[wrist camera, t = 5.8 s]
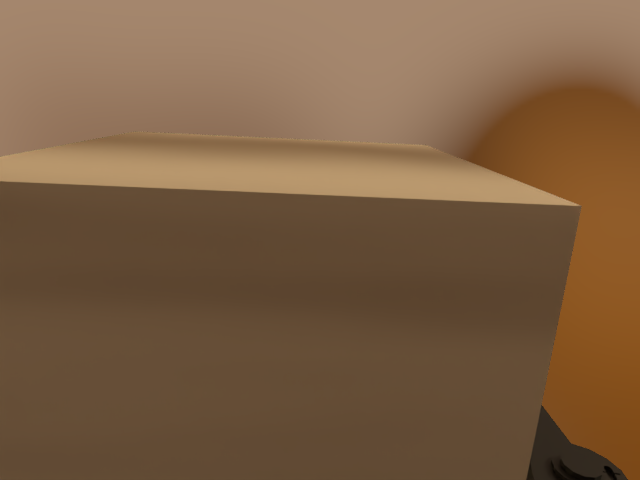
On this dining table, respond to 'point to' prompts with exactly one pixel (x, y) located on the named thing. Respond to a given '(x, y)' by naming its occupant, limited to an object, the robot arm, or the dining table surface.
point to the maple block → (272, 311)
